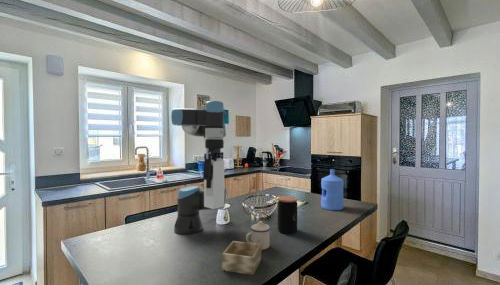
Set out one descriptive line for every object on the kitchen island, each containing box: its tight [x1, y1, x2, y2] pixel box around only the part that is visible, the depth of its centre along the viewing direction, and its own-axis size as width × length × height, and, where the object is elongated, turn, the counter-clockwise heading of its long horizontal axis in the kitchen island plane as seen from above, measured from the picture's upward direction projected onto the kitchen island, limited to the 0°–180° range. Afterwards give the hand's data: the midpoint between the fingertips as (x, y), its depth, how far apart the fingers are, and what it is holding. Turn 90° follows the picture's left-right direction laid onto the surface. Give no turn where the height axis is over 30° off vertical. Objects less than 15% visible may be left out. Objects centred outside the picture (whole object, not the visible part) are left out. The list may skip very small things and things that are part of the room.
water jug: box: [320, 168, 345, 211], centre depth 186 cm, size 16×16×28 cm
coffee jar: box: [277, 195, 298, 235], centre depth 140 cm, size 11×11×18 cm
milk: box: [203, 158, 225, 209], centre depth 105 cm, size 6×6×22 cm
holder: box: [221, 240, 262, 276], centre depth 103 cm, size 13×13×6 cm
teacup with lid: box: [245, 220, 271, 251], centre depth 119 cm, size 12×9×12 cm
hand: (214, 193), depth 105 cm, fingers closed on milk, 8 cm apart
